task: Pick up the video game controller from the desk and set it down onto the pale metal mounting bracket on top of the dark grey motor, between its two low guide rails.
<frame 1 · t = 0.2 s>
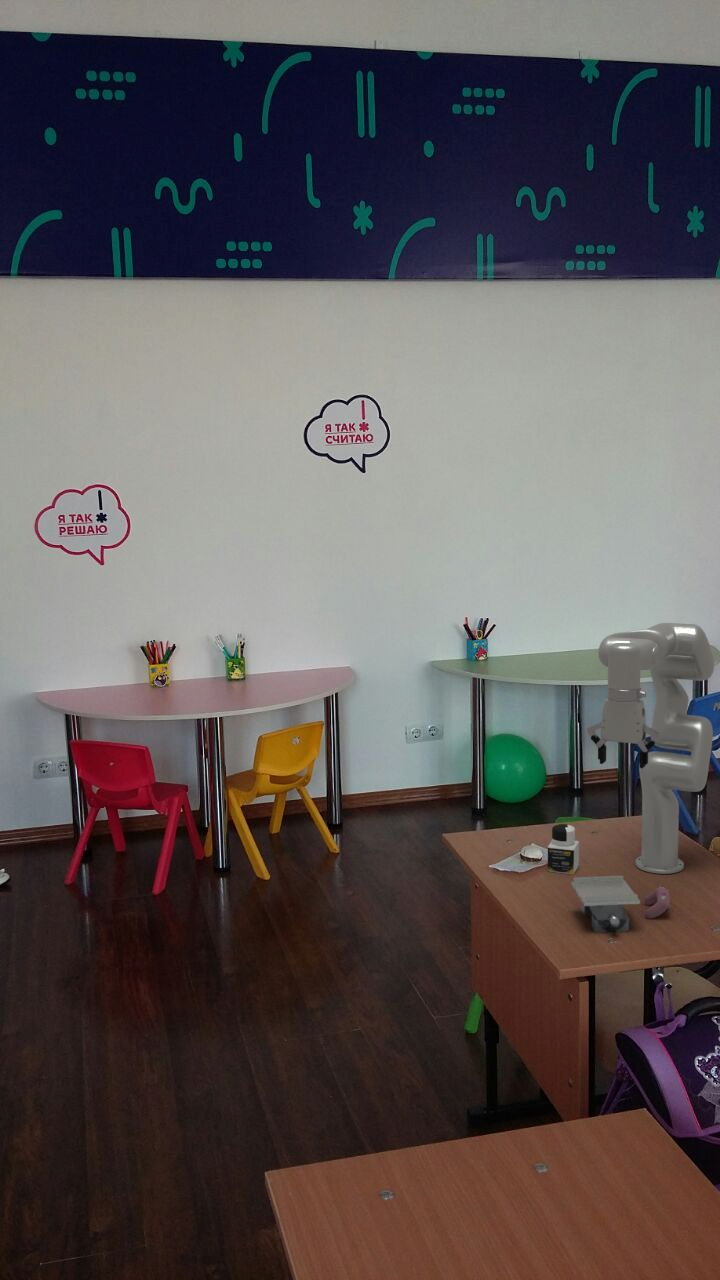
hand: (622, 764, 267), 36 cm above the table, tool pointing down, fingers open, 9 cm apart
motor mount: (604, 920, 265), on the table
video game controller: (656, 912, 270), on the table
medicine bottle: (563, 869, 300), on the table
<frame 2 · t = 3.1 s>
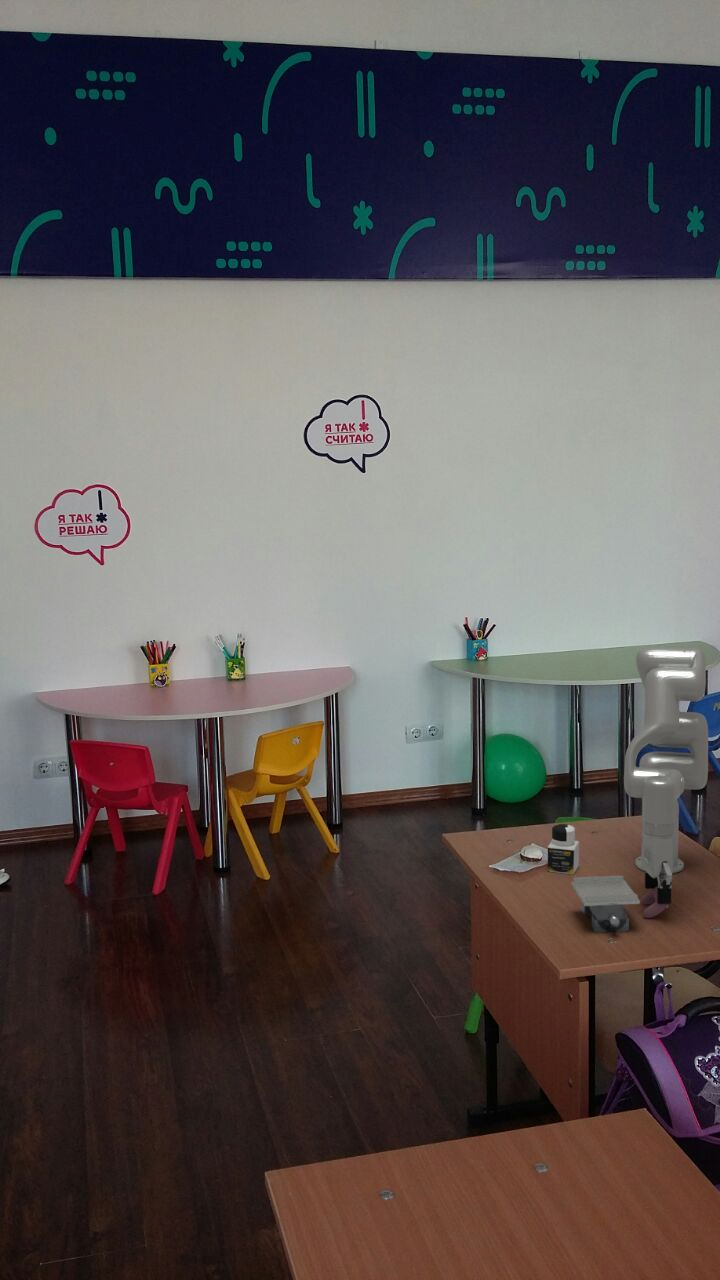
hand: (657, 895, 269), 4 cm above the table, tool pointing down, fingers closed on video game controller, 9 cm apart
video game controller: (654, 912, 270), on the table, touching gripper
everything else where it was.
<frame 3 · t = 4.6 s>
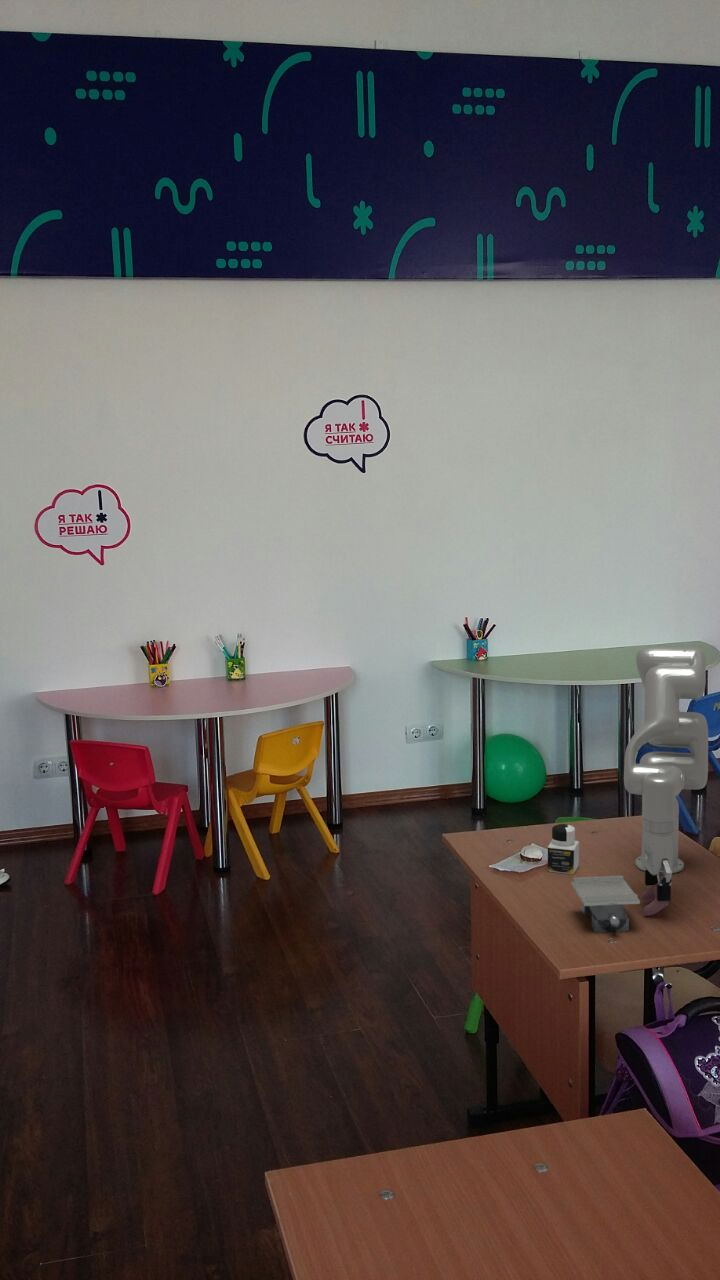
hand: (657, 892, 270), 5 cm above the table, tool pointing down, fingers closed on video game controller, 9 cm apart
video game controller: (654, 909, 271), on the table, touching gripper
everything else where it was.
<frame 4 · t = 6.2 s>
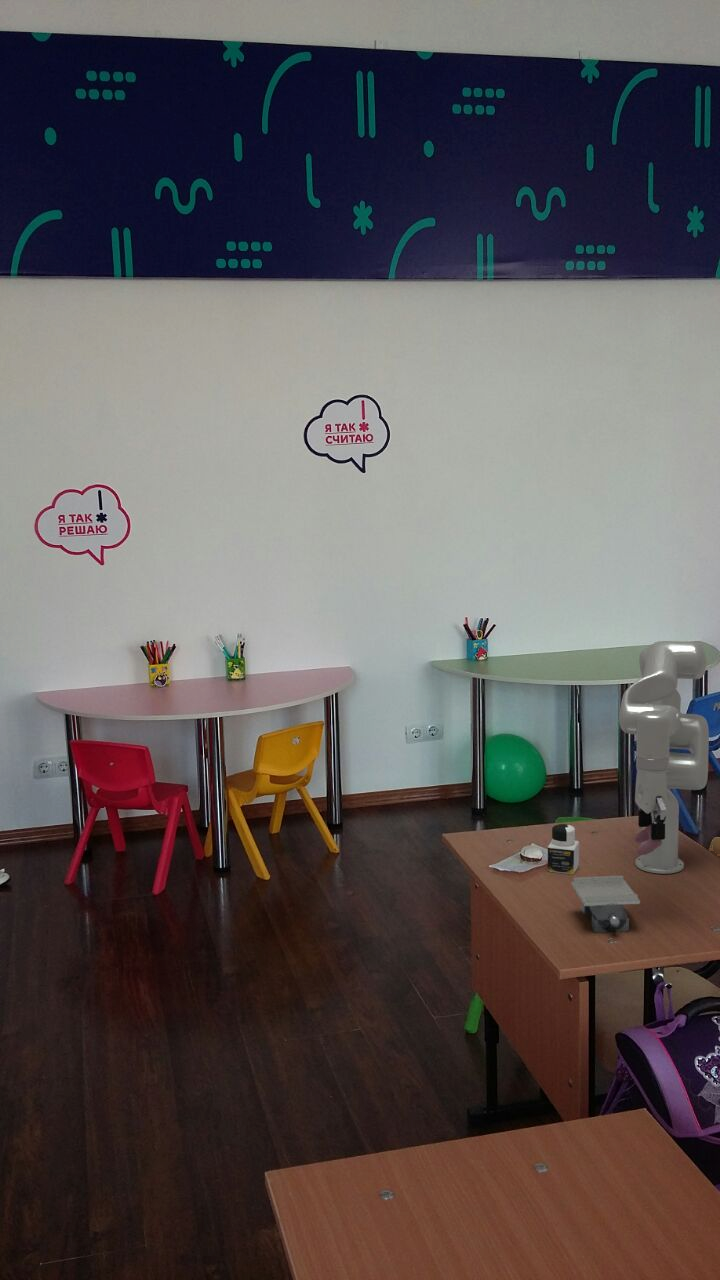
hand: (651, 832, 266), 20 cm above the table, tool pointing down, fingers closed on video game controller, 9 cm apart
video game controller: (648, 850, 267), point 16 cm above the table, touching gripper
everything else where it was.
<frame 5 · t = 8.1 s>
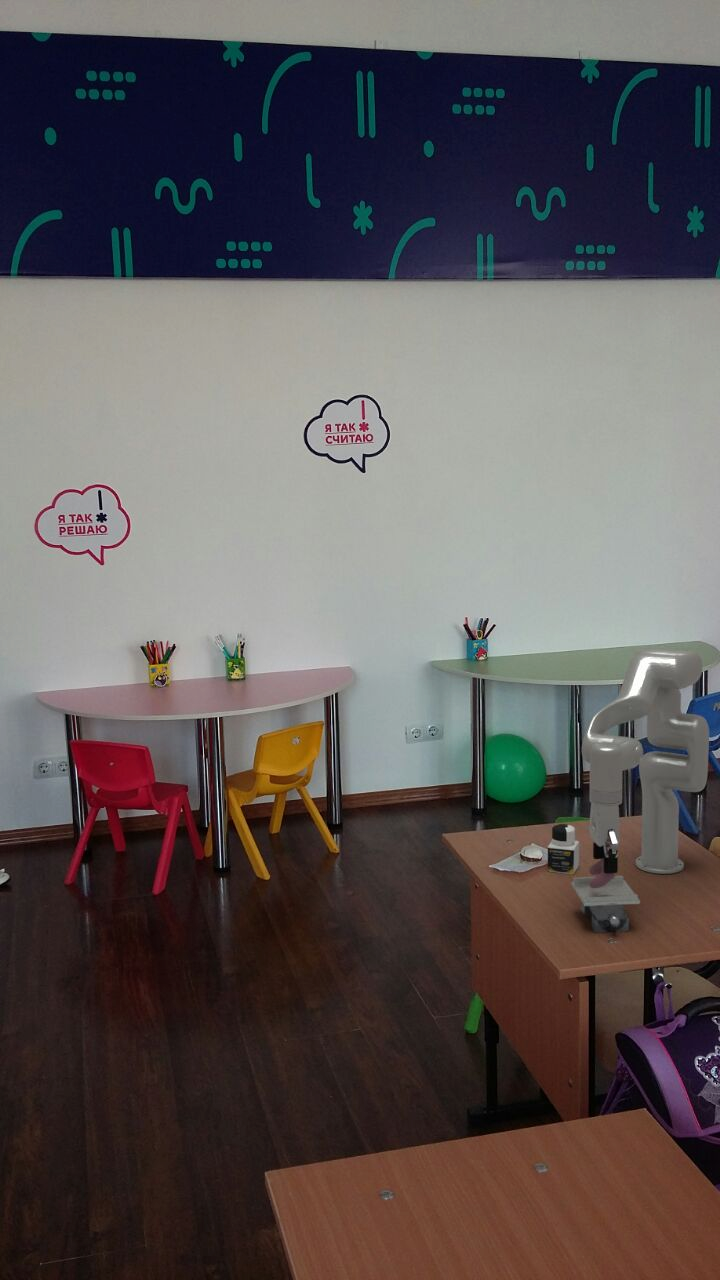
hand: (605, 865, 263), 14 cm above the table, tool pointing down, fingers closed on video game controller, 9 cm apart
video game controller: (601, 882, 264), point 9 cm above the table, touching gripper
everything else where it was.
when the fingers open (13 cm above the table, at t = 9.3 s): video game controller drops 1 cm, resting on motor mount.
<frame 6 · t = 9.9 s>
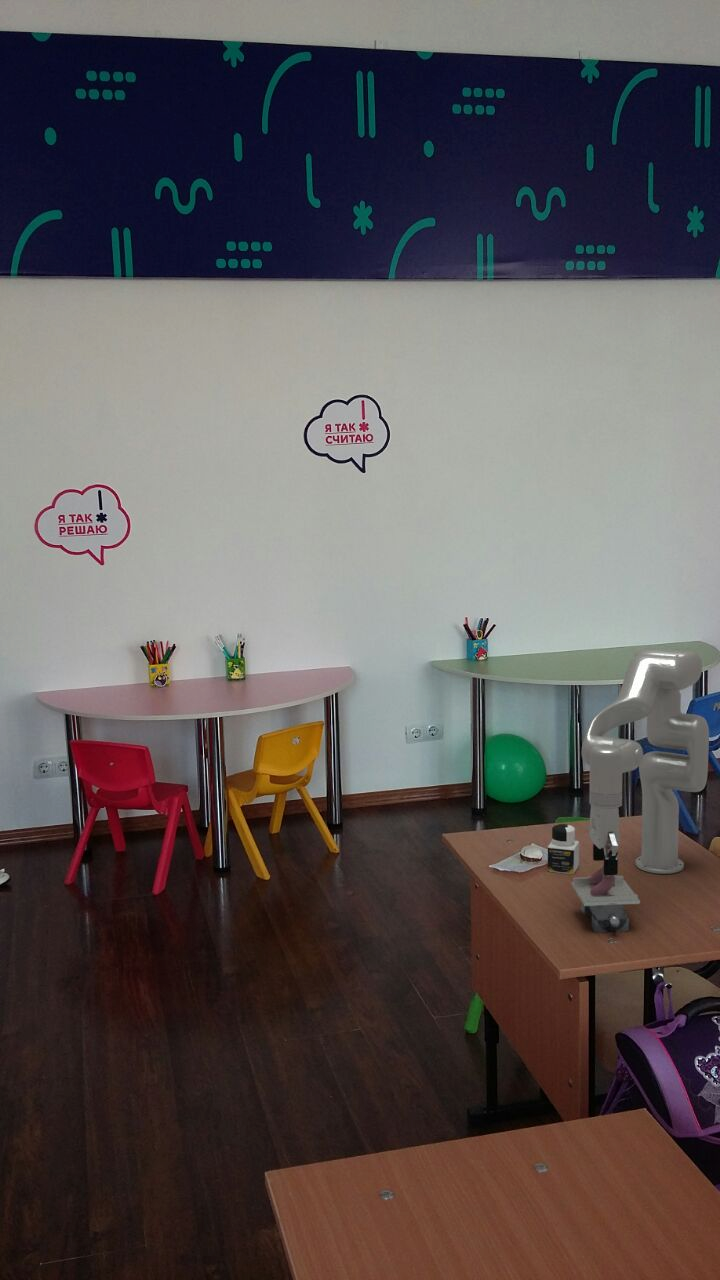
hand: (605, 867, 263), 13 cm above the table, tool pointing down, fingers open, 9 cm apart
video game controller: (602, 891, 265), point 7 cm above the table, touching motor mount
everything else where it was.
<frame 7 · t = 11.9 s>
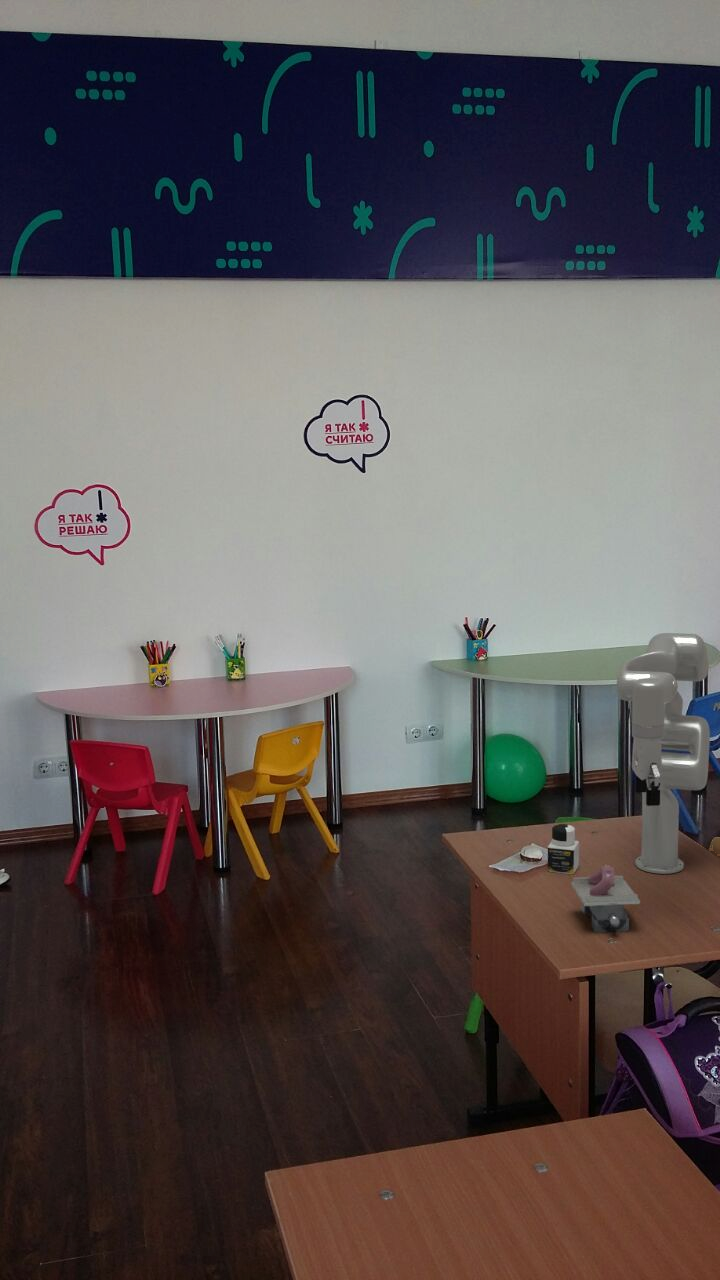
hand: (647, 798, 268), 28 cm above the table, tool pointing down, fingers open, 9 cm apart
nothing on the table moved.
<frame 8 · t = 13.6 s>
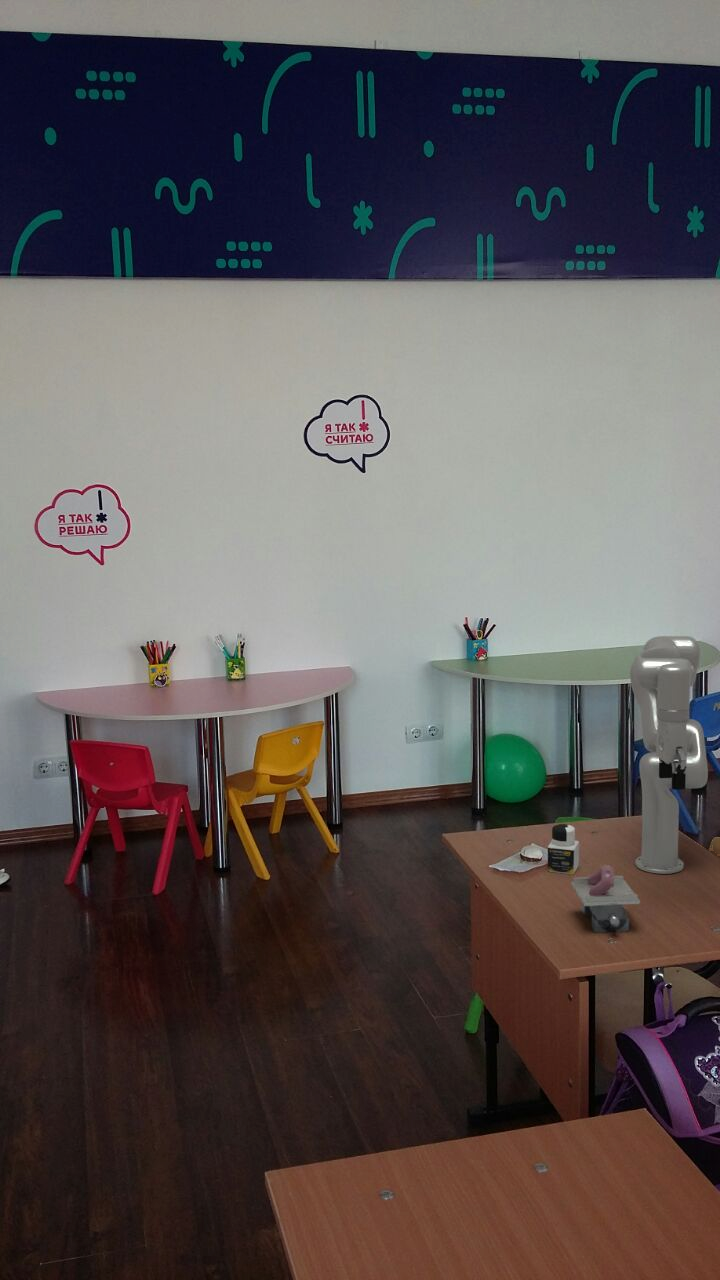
hand: (671, 783, 271), 30 cm above the table, tool pointing down, fingers open, 9 cm apart
nothing on the table moved.
at the end: video game controller inside the target area on the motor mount (0.9 cm from its centre), point 7.2 cm above the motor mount's base; video game controller tilted 1°; the gripper is holding nothing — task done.
